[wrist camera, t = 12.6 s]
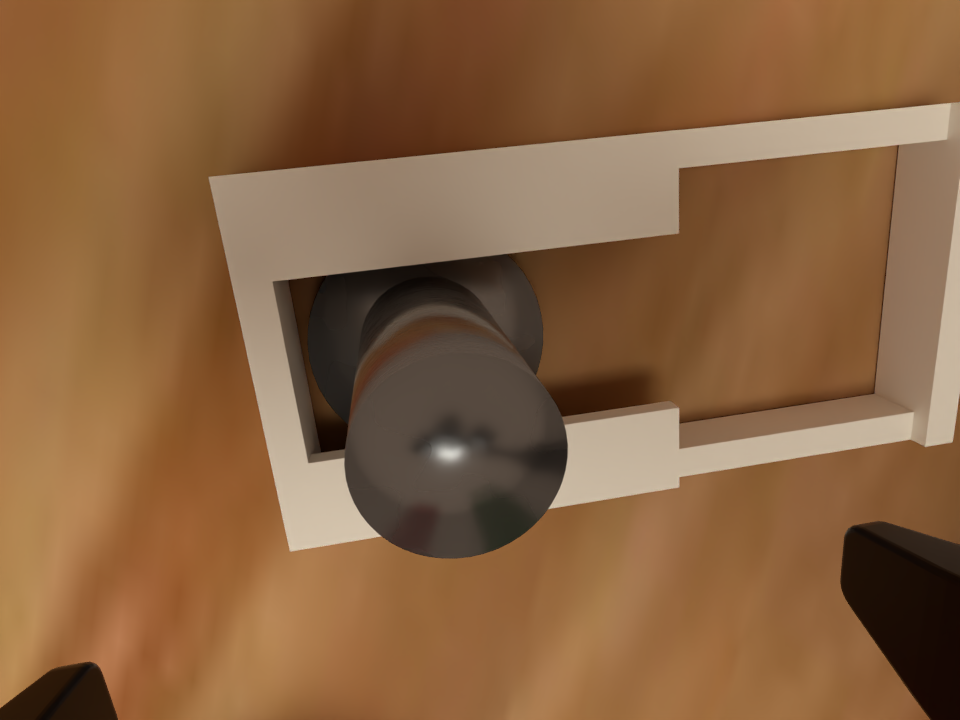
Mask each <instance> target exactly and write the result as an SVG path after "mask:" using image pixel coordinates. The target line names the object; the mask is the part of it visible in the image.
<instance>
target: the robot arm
mask: <svg viewBox="0 0 960 720" xmlns="http://www.w3.org/2000/svg"><path fill="white" fill-rule="evenodd" d="M840 582H841V588H842V592H843V595H844V597H845V599H846V601H847V602H848V604H849V606H850V607H851V608H852V610H853V611H854V613H855V614H856V616H857V617H858V618H859V620H860V621H861V623H862V624H863V626H864V627H865V628H866V630H867V631H868V633H869V634H870V636H871V637H872V638H873V640H874V641H875V643H876V644H877V646H878V647H879V648H880V650H881V651H882V653H883V654H884V656H885V657H886V658H887V660H888V661H889V663H890V664H891V666H892V667H893V668H894V670H895V671H896V673H897V674H898V676H899V677H900V678H901V680H902V681H903V683H904V684H905V686H906V687H907V688H908V690H909V691H910V693H911V694H912V696H913V697H914V698H915V700H916V701H917V702H918V704H919V705H920V706H921V708H922V709H923V710H924V712H925V713H926V714H927V716H928V717H929V718H930V720H960V545H958V544H955V543H952V542H949V541H945V540H942V539H939V538H936V537H932V536H929V535H926V534H923V533H919V532H916V531H913V530H910V529H906V528H903V527H900V526H897V525H893V524H890V523H887V522H881V521H876V522H870V523H865V524H859V525H854V526H852V527H850V528H848V530H847V531H846V533H845V536H844V545H843V556H842V567H841V578H840ZM0 720H118V718H117V714H116V711H115V708H114V706H113V703H112V700H111V697H110V694H109V691H108V688H107V685H106V682H105V680H104V677H103V674H102V671H101V669H100V668H99V666H98V665H97V664H95V663H92V662H84V663H78V664H72V665H67V666H61V667H57V668H54V669H52V670H50V671H49V672H47V673H46V674H45V675H43V676H42V677H41V678H39V679H38V680H37V681H35V682H34V683H33V684H32V685H30V686H29V687H28V688H26V689H25V690H24V691H22V692H21V693H20V694H18V695H17V696H16V697H14V698H13V699H12V700H10V701H9V702H8V703H7V704H5V705H4V706H3V707H1V708H0Z"/></svg>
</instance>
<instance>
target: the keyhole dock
mask: <svg viewBox="0 0 960 720" xmlns="http://www.w3.org/2000/svg"><path fill="white" fill-rule="evenodd" d="M893 145H899V148H898V159H897V169H896V179H895V189H894V199H893V209H892V219H891V229H890V240H889V250H888V260H887V270H886V280H885V290H884V300H883V310H882V321H881V331H880V341H879V351H878V361H877V371H876V381H875V392H874V394H870V395H863V396H857V397H850V398H844V399H837V400H831V401H824V402H818V403H811V404H805V405H798V406H791V407H785V408H778V409H772V410H765V411H759V412H752V413H746V414H739V415H733V416H726V417H720V418H713V419H707V420H700V421H694V422H687V423H681V424H679V407H678V406H676V405H675V404H674V403H673V402H671V401H666V402H659V403H652V404H646V405H639V406H632V407H626V408H619V409H612V410H605V411H599V412H592V413H585V414H579V415H572V416H565V417H562V418H563V422H564V425H565V429H566V434H567V442H568V458H567V465H566V471H565V474H564V478H563V481H562V484H561V486H560V489H559V491H558V493H557V495H556V497H555V499H554V500H553V502H552V504H551V506H550V507H549V508H548V509H551V508H557V507H563V506H569V505H575V504H581V503H588V502H594V501H600V500H606V499H612V498H618V497H624V496H630V495H636V494H642V493H648V492H654V491H660V490H666V489H672V488H679V477H683V476H689V475H696V474H702V473H708V472H714V471H720V470H726V469H732V468H739V467H745V466H751V465H757V464H763V463H769V462H775V461H781V460H788V459H794V458H800V457H806V456H812V455H818V454H824V453H831V452H837V451H843V450H849V449H855V448H861V447H867V446H874V445H880V444H886V443H892V442H898V441H904V440H910V439H911V440H913V441H915V442H917V443H919V444H921V445H923V446H924V447H927V446H933V445H939V444H945V443H951V442H953V436H954V429H955V422H956V415H957V408H958V401H959V394H960V102H955V103H946V104H936V105H926V106H916V107H906V108H896V109H886V110H876V111H866V112H856V113H846V114H836V115H826V116H816V117H806V118H796V119H786V120H776V121H766V122H756V123H746V124H736V125H726V126H716V127H706V128H696V129H686V130H673V131H663V132H653V133H643V134H633V135H623V136H613V137H603V138H593V139H583V140H573V141H563V142H553V143H542V144H532V145H522V146H512V147H502V148H492V149H482V150H472V151H462V152H452V153H442V154H432V155H422V156H412V157H402V158H392V159H382V160H372V161H362V162H352V163H342V164H332V165H322V166H312V167H302V168H292V169H282V170H272V171H262V172H252V173H242V174H232V175H222V176H212V177H209V182H210V186H211V191H212V196H213V200H214V205H215V209H216V214H217V219H218V223H219V228H220V232H221V237H222V242H223V246H224V251H225V255H226V260H227V264H228V269H229V274H230V278H231V283H232V287H233V292H234V297H235V301H236V306H237V310H238V315H239V319H240V324H241V329H242V333H243V338H244V342H245V347H246V352H247V356H248V361H249V365H250V370H251V375H252V379H253V384H254V388H255V393H256V397H257V402H258V407H259V411H260V416H261V420H262V425H263V430H264V434H265V439H266V443H267V448H268V453H269V457H270V462H271V466H272V471H273V475H274V480H275V485H276V489H277V494H278V498H279V503H280V508H281V512H282V517H283V521H284V526H285V531H286V535H287V540H288V544H289V549H290V551H296V550H302V549H308V548H315V547H321V546H327V545H333V544H339V543H345V542H351V541H357V540H363V539H369V538H375V537H381V535H379V534H378V533H377V532H376V531H375V530H374V529H373V528H372V527H371V526H370V525H369V524H368V523H367V522H366V521H365V519H364V518H363V517H362V516H361V514H360V512H359V511H358V509H357V507H356V506H355V504H354V502H353V500H352V497H351V495H350V492H349V489H348V485H347V482H346V477H345V467H344V459H345V449H343V450H337V451H330V452H323V453H321V450H320V444H319V439H318V434H317V429H316V423H315V418H314V413H313V408H312V402H311V397H310V392H309V387H308V381H307V376H306V371H305V365H304V360H303V355H302V350H301V344H300V339H299V334H298V329H297V323H296V318H295V313H294V308H293V302H292V297H291V292H290V287H289V281H288V280H290V279H299V278H307V277H316V276H324V275H332V274H341V273H349V272H358V271H366V270H375V269H383V268H391V267H400V266H408V265H417V264H425V263H434V262H442V261H450V260H459V259H467V258H476V257H484V256H493V255H501V254H509V253H518V252H526V251H535V250H543V249H552V248H560V247H568V246H577V245H585V244H594V243H602V242H611V241H619V240H627V239H636V238H644V237H653V236H661V235H670V234H678V233H679V168H687V167H696V166H705V165H715V164H724V163H733V162H743V161H752V160H762V159H771V158H780V157H790V156H799V155H808V154H818V153H827V152H836V151H846V150H855V149H865V148H874V147H883V146H893Z"/></svg>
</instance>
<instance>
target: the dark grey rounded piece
mask: <svg viewBox="0 0 960 720" xmlns="http://www.w3.org/2000/svg"><path fill="white" fill-rule="evenodd" d="M542 346H543V325H542V318H541V312H540V308H539V305H538V301H537V298H536V296H535V294H534V291H533V289H532V287H531V285H530V283H529V281H528V280H527V278H526V276H525V275H524V273H523V272H522V270H521V269H520V268H519V267H518V265H517V264H516V263H515V262H514V261H513V260H512V259H511V258H510V257H509V256H508V255H507V254H501V255H493V256H484V257H476V258H467V259H459V260H450V261H442V262H434V263H425V264H417V265H408V266H400V267H391V268H383V269H375V270H366V271H358V272H349V273H341V274H332V275H327V276H326V278H325V279H324V281H323V283H322V285H321V287H320V289H319V291H318V294H317V296H316V298H315V301H314V304H313V307H312V310H311V313H310V319H309V325H308V352H309V360H310V364H311V368H312V371H313V375H314V377H315V380H316V382H317V384H318V387H319V389H320V390H321V392H322V394H323V396H324V397H325V399H326V401H327V402H328V403H329V405H330V406H331V407H332V408H333V410H334V411H335V412H336V413H337V414H338V415H339V416H340V417H341V418H342V419H343V420H344V421H345V422H346V423H347V424H348V431H347V439H346V446H345V459H344V467H345V477H346V482H347V485H348V489H349V492H350V495H351V497H352V500H353V502H354V504H355V506H356V507H357V509H358V511H359V512H360V514H361V516H362V517H363V518H364V519H365V521H366V522H367V523H368V524H369V525H370V526H371V527H372V528H373V529H374V530H375V531H376V532H377V533H378V534H379V535H381V536H382V537H383V538H385V539H386V540H388V541H389V542H391V543H392V544H394V545H396V546H398V547H400V548H402V549H404V550H407V551H410V552H413V553H415V554H419V555H423V556H428V557H435V558H464V557H472V556H476V555H480V554H484V553H487V552H490V551H493V550H496V549H498V548H500V547H502V546H504V545H506V544H509V543H510V542H512V541H514V540H515V539H517V538H518V537H520V536H521V535H523V534H524V533H525V532H526V531H528V530H529V529H530V528H531V527H532V526H533V525H534V524H535V523H536V522H537V521H538V520H539V519H540V518H541V517H542V516H543V515H544V514H545V512H546V511H547V510H548V508H549V507H550V506H551V504H552V502H553V500H554V499H555V497H556V495H557V493H558V491H559V489H560V486H561V484H562V481H563V478H564V474H565V471H566V465H567V458H568V442H567V434H566V429H565V425H564V422H563V418H562V416H561V414H560V412H559V409H558V407H557V405H556V404H555V402H554V400H553V399H552V397H551V396H550V394H549V393H548V391H547V390H546V389H545V387H544V386H543V385H542V383H541V382H540V381H539V379H538V378H537V377H536V373H537V371H538V367H539V363H540V359H541V354H542Z"/></svg>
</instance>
